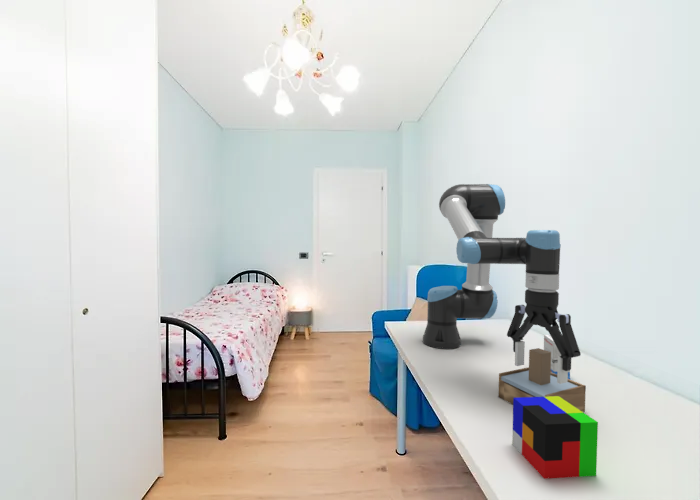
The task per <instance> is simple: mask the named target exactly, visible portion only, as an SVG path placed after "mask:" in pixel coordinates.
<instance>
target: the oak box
mask: <svg viewBox="0 0 700 500" xmlns="http://www.w3.org/2000/svg"><path fill="white" fill-rule="evenodd" d="M524 371H529V366H528V367H523V368H519V369H513V370H508V371H504V372H499V373H498V392H497V393H498V398H500V399H502V400H504V401H505V402H507V403H509V404H511V405H512V406H513V398H520V397H535V396H533V395H531V394H529V393H527V392H525V391H523V390H521V389H519V388H517V387H515V386H513V385H511V384H509V383H506V382H504V381H502V380H501V376H505V375H510V374H514V373H519V372H524ZM550 375H552V376H554V377H557V374H554V373H552V372H551V374H550ZM568 382H569V383H572V384H574V385H577V386H578V387H574V388H570V389H566V390H562V391H558V392H555V393H551V394H547V395H545V397H549V396H559V397H561V398H562V399H564V400H565V401H567V402H568V403H570V404H571V405H573V406H574V407H576V408H577V409H579V410H580V411H582V412H583V413H584V412H585V411H586V389H587V387H586V386H587V385H585V384H583V383H580V382H577V381H574V380H572V379H571V378H570V379H568Z"/></svg>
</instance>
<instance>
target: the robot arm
mask: <svg viewBox="0 0 700 500" xmlns="http://www.w3.org/2000/svg"><path fill="white" fill-rule="evenodd" d="M438 207H439V208H438V209H439V211H440V213H441V215H442V216H443V217H445V219H447V221H448V223H449V225H450V226H451V228H452V231H453V232H454V234H455V236H456V239H457V242H456V247H455V248H456V257H457V259H458V261H459V263H462V264H467V266H466V267H467V268H466V280H465V282H464V283H462V284H461V289H458V287H457V286H456V285H455V286H454V285H441V286H436V287H432V288H430V289H429V290H428V292H427V299H426V302H427V318H426V319H427V323H426V327H425V330H424V332H423V335H422V343H423V344H425V345H426V346H429V347H432V348H435V349H446V350H448V349H457V348H459V347H461V345H462V341H461V337H460V332H459V329H458V326H457V325H458V323H457V322H458V321H457V320H458V319H470V320H471V319H472V320H473V319H477V320H483V319H491V318H492V317H493V316H494V315H495V313H496V312H497V308H498V295H497V293H496V291H495V290H493V286H492V285H491V284H490V275H491V272H490V271H491V265H492V264H495V265H496V264H497V265H499V264H500V265H525V283H524V284H525V285H524V286H525V288H526V290H525V291H524V302H525V304H526V305H524V304H518V305H517V304H516V305H515V307H514V314H513V316H512V319H511V321H510V322H511V323H510V325H509V328H508V330H507V333H506V336H507V337H508V338H511V339H512V341H513V342H512V344H513V345H512V346H513V347H512V350H513V352H514V366H516V367H520V366H524V365H525V340H524V337H525V336H527V334H528V333H529V331H530V330H531V328H532V327H533V326H540V327H541V328H544V329H545V330H546V331H547V332H548V333H549V335H551V337H552V339H553V341H554V343H555V345H556V346H557V348H558V350H559V352H560V354H561V356H558V370H557V383H559V384H562V383H566V382H568V371H569V370H570V371H571V369H572V358H577V357H580V356H581V351H580V348H579V345H578V342H577V339H576V336H575V332H574V330H573V327H572V323H571V322H572V319H571V318H572V317H571V315H570V314H568V313H564V314H562V313H559V312H558V306H559V298H560V297H559V295H560V293H559V292H558V290H559V289H560V265H561V264H560V262H561V260H560V259H561V235H560V232H559V231H558V230H555V229H533V230H528V231H527V232H526V237H493V231H494V224H495V223H496V222H497V221H499V216H501V215H502V214H503V213H504V212H505V209H506V197H505V191H504V190H503V189H502V187H501V186H500V185H498V184H490V183H479V184H478V183H477V184H475V183H474V184H465V183H462V184H455V185H452V186H451V187H448V188H447V189H446V190H445V191H444V192H443V193H442V195H441V196H440V198H439V203H438ZM525 314H526V317H525ZM524 317H525V319H524ZM522 322H523V323H522Z"/></svg>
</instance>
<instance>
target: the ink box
mask: <svg viewBox="0 0 700 500" xmlns="http://www.w3.org/2000/svg"><path fill="white" fill-rule="evenodd" d="M543 350H546V351H549V352H551V372H552V373H554V374H557V370H558V356H561V354H560V352H559V350H558V348H557V346H556V345H555V343H554V341H553V339H552V337H551V335H550V334H543ZM568 379H570V380H571V370H569V371H568Z"/></svg>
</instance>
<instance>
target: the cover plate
mask: <svg viewBox="0 0 700 500" xmlns="http://www.w3.org/2000/svg"><path fill="white" fill-rule="evenodd" d="M528 356H529V357H528V367H529V371H524V372H519V373H514V374H510V375H505V376H501V380H502V381H504V382H506V383H509V384H511V385H513V386H515V387H517V388H519V389H521V390H523V391H525V392H527V393H529V394H531V395H533V396H535V397H545V395H547V394H551V393H555V392H558V391H562V390H566V389H570V388H574V387H578V386H577V385H574V384H572V383H569V382H566V383H562V384H559V383H557V377H554V376H552V375H550V374H551V352H549V351H546V350H544V348H543V349H542V348H540V347H539V348H531V349H529V352H528Z"/></svg>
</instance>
